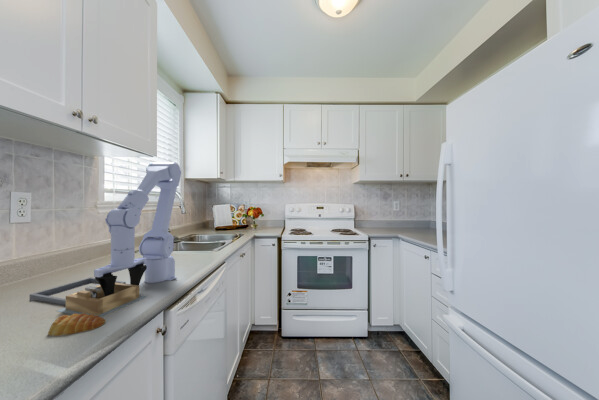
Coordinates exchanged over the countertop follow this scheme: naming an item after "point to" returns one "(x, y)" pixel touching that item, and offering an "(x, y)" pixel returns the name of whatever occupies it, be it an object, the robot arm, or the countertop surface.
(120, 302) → the wooden frame
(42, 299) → the tray
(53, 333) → the pastry
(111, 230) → the robot arm
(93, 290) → the stake post
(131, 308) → the countertop surface
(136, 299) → the stake base
